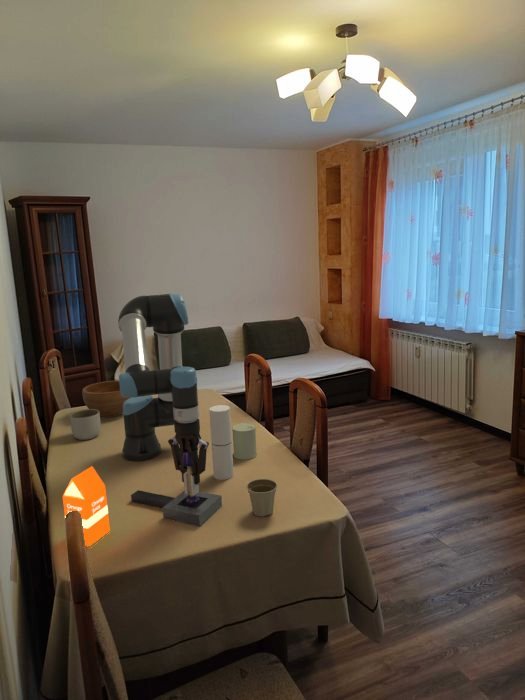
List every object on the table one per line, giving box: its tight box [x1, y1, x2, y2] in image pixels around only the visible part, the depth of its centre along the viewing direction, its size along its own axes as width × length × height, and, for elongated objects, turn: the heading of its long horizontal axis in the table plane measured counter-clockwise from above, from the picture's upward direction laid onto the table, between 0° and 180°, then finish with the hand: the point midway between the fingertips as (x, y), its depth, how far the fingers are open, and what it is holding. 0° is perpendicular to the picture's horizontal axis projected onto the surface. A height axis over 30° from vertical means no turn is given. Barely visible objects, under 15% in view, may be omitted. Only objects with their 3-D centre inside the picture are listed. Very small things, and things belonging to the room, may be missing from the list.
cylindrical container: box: [208, 404, 235, 481], centre depth 177 cm, size 7×7×25 cm
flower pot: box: [245, 478, 278, 517], centre depth 153 cm, size 9×9×9 cm
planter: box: [69, 408, 102, 441], centre depth 223 cm, size 12×12×11 cm
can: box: [231, 422, 258, 461], centre depth 196 cm, size 9×9×12 cm
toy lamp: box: [181, 450, 200, 505], centre depth 153 cm, size 5×5×17 cm
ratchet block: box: [130, 489, 223, 527], centre depth 158 cm, size 29×13×4 cm, turn 65°
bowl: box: [81, 380, 132, 418], centre depth 251 cm, size 25×25×15 cm
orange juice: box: [62, 465, 111, 547], centre depth 141 cm, size 8×9×20 cm
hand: (191, 492), depth 154 cm, fingers closed on toy lamp, 2 cm apart
